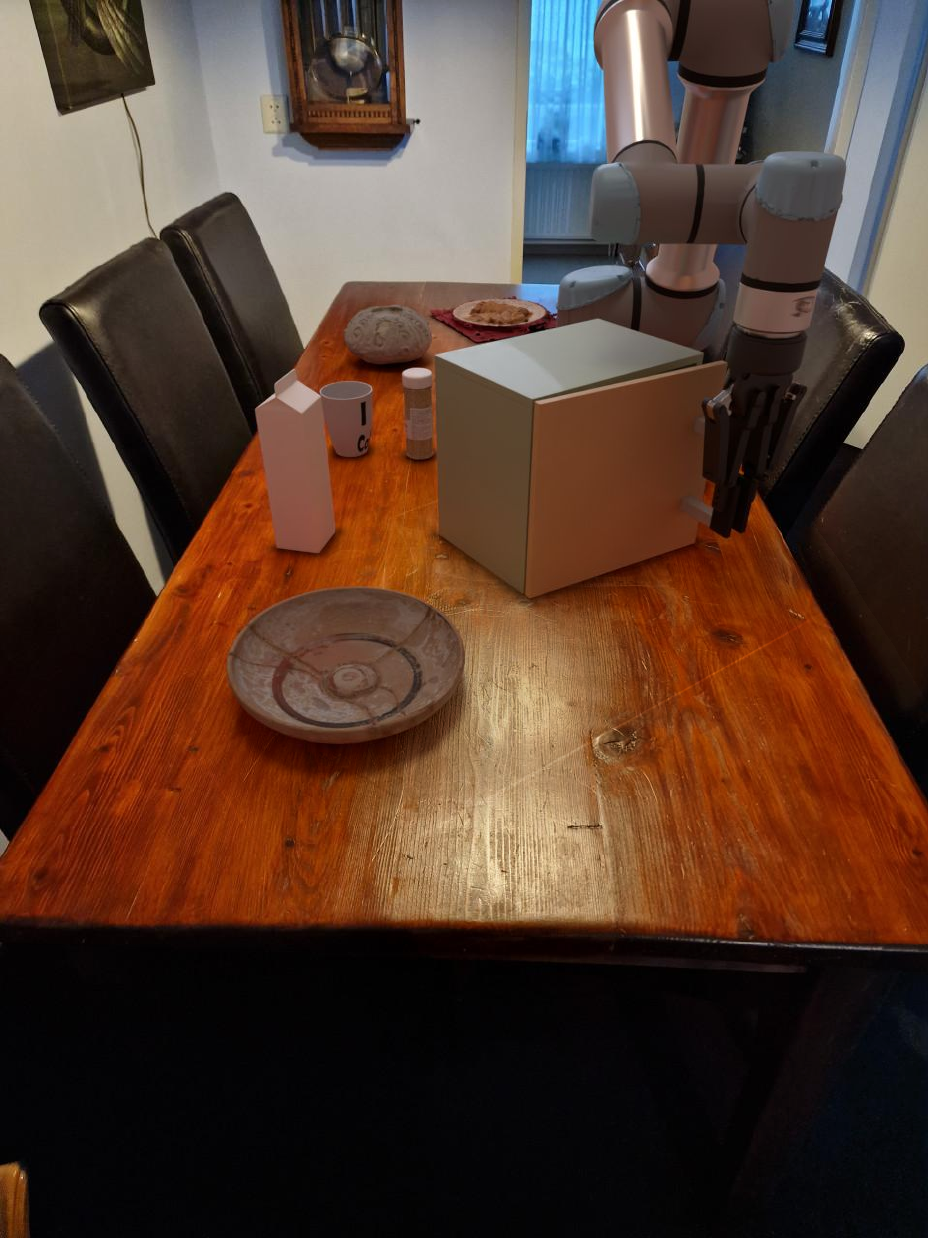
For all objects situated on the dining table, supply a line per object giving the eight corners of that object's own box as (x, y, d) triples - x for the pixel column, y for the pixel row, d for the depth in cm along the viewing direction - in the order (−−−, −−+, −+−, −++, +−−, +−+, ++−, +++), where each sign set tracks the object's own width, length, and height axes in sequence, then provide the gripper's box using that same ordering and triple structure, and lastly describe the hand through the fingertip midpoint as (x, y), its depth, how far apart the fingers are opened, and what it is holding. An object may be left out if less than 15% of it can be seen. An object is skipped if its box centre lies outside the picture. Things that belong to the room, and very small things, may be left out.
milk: (276, 548, 106) (248, 382, 93) (295, 526, 111) (271, 365, 98) (320, 554, 105) (297, 386, 92) (337, 531, 110) (318, 369, 97)
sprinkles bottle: (406, 449, 132) (403, 366, 124) (434, 449, 132) (432, 366, 124) (404, 461, 128) (400, 376, 120) (433, 461, 128) (431, 376, 120)
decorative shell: (440, 369, 164) (439, 318, 158) (352, 377, 160) (348, 325, 155) (422, 343, 178) (421, 295, 172) (341, 350, 175) (336, 301, 169)
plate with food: (514, 304, 206) (514, 289, 204) (569, 327, 186) (569, 311, 184) (428, 316, 197) (427, 302, 195) (476, 342, 178) (476, 326, 176)
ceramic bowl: (262, 802, 71) (253, 761, 68) (216, 651, 88) (207, 613, 85) (503, 728, 78) (504, 688, 75) (416, 602, 96) (414, 566, 93)
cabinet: (674, 532, 109) (704, 352, 96) (523, 595, 97) (532, 399, 83) (583, 484, 121) (598, 318, 107) (438, 534, 109) (434, 354, 95)
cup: (368, 462, 128) (363, 400, 122) (319, 458, 129) (311, 397, 123) (382, 442, 134) (378, 382, 128) (335, 438, 135) (329, 379, 130)
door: (732, 566, 102) (774, 379, 88) (563, 628, 91) (580, 426, 78) (689, 539, 107) (721, 360, 94) (524, 594, 97) (534, 401, 83)
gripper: (742, 348, 77) (700, 560, 91) (850, 326, 83) (796, 529, 97) (689, 328, 83) (657, 531, 97) (794, 309, 88) (750, 503, 102)
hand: (727, 529), depth 97 cm, fingers closed on door, 2 cm apart
